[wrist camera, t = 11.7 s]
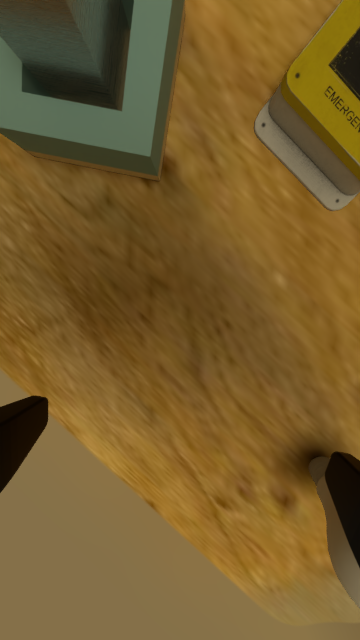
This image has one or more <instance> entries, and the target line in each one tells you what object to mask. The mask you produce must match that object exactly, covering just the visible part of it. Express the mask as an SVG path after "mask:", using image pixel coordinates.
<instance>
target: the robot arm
mask: <svg viewBox="0 0 360 640" xmlns="http://www.w3.org/2000/svg"><path fill="white" fill-rule="evenodd" d="M47 422H48V399H47V398H46V397H41V396H30V397H28V398H25V399H22V400H19V401H16V402H13V403H10V404H7V405H5V406H2V407H0V493H1V491H2V490H3V489H4V488H5V486H6V485H7V484H8V482H9V481H10V480H11V478H12V477H13V475H14V474H15V473H16V471H17V470H18V468H19V466H20V465H21V464H22V462H23V461H24V459H25V458H26V456H27V455H28V453H29V452H30V450H31V449H32V447H33V446H34V444H35V443H36V441H37V439H38V438H39V436H40V435H41V433H42V432H43V430H44V429H45V427H46V425H47ZM325 481H326V484H327V487H328V490H329V492H330V495H331V498H332V500H333V503H334V506H335V509H336V511H337V514H338V517H339V519H340V522H341V525H342V528H343V530H344V533H345V535H346V538H347V541H348V543H349V546H350V548H351V550H352V552H353V555H354V557H355V559H356V561H357V564H358V566H359V568H360V461H359V460H358V459H356V458H355V457H354V456H352V455H350V454H348V453H343V452H338V451H336V452H334V453H332V455H331V458H330V460H329V463H328V465H327V468H326V470H325Z"/></svg>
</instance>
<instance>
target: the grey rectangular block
mask: <svg viewBox="0 0 360 640" xmlns="http://www.w3.org/2000/svg"><path fill="white" fill-rule="evenodd" d="M130 33H131V32H130V28H129V24H128V21H127V17H126V13H125V10H124V6H123V2H122V0H0V37H1V38H2V39H3V40H4V41H5V43H6V44H7V45H8V46H9V47H10V48H11V50H12V51H13V52H14V53H15V54H16V56H17V57H18V58H19V59H20V60H21V62H22V63H23V64H24V65H25V66H26V68H27V69H28V70H29V71H30V72H31V73H32V75H33V76H34V77H35V78H36V79H37V81H38V82H39V83H40V84H41V85H42V87H43V88H44V89H45V90H46V91H47V93H48V94H49V95H50V96H51V97H52V98H56V99H61V100H66V101H72V102H77V103H82V104H87V105H92V106H97V107H102V108H108V109H113V110H118V111H122V107H123V98H124V88H125V79H126V70H127V61H128V52H129V43H130Z"/></svg>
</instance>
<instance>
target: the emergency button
mask: <svg viewBox="0 0 360 640" xmlns="http://www.w3.org/2000/svg"><path fill="white" fill-rule="evenodd" d="M254 131H255V134H256V136H257V138H258V139H259V140H260V141H261V142H262V143H263V144H264V145H265V146H266V147H267V148H268V149H269V150H270V151H271V152H272V153H273V154H274V155H275V156H276V157H277V158H278V159H279V160H280V161H281V162H282V164H283V165H284V166H285V167H286V168H287V169H288V170H289V171H290V172H291V173H292V174H293V175H294V176H295V177H296V178H297V179H298V180H299V181H300V182H301V183H302V184H303V185H304V186H305V187H306V188H307V190H308V191H309V192H310V193H311V194H312V195H313V196H314V197H315V198H316V199H317V200H318V201H319V202H320V203H321V204H322V205H323V206H324V207H325V208H326V209H328V210H330V211H335V210H340V209H341V208H343V207H344V206H346V205H347V204H348V203H349V202H350V201H351V200H352V199H353V198H354V197H355V196H356V195H357V194H358V193H359V192H360V0H342V1H341V3H340V4H339V5H338V7H337V8H336V9H335V10H334V12H333V13H332V14H331V15H330V17H329V18H328V19H327V21H326V22H325V23H324V24H323V26H322V27H321V28H320V29H319V31H318V32H317V33H316V34H315V36H314V37H313V38H312V40H311V41H310V42H309V43H308V45H307V46H306V47H305V48H304V50H303V51H302V52H301V53H300V55H299V56H298V57H297V59H296V60H295V61H294V62H293V64H292V65H291V66H290V68H289V69H288V71H287V72H286V74H285V76H284V78H283V80H282V82H281V84H280V85H279V87H278V89H277V90H276V92H275V93H274V95H273V96H272V97H271V98H270V100H269V101H268V102H267V104H266V105H265V106H264V107H263V109H262V110H261V111H260V113H259V114H258V116H257V118H256V120H255V125H254Z"/></svg>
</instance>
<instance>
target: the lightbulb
mask: <svg viewBox="0 0 360 640" xmlns="http://www.w3.org/2000/svg"><path fill="white" fill-rule="evenodd" d="M329 460H330V458H328V457H323V456H321V457H316V458H314V459H313V460H312V461H311V462H310V464H309V472H310V474H311V477H312V478H313V481H314V482H315V485H316V486H317V493H318V495H319V498H320V500H321V502H322V504H323V507H324V510H325V515H326V521H327V542H328V551H329V555H330V558H331V562H332V565H333V568H334V570H335V572H336V574H337V577H338V579H339V580H340V582H341V584H342V585H343V587H344V588H345V590H346V591H347V593H348V594H349V596H350V597H351V599H352V600H353V601H354V602H355V604H356V605H357V606H358V607H359V608H360V568H359V566H358V564H357V561H356V559H355V557H354V555H353V552H352V550H351V548H350V546H349V543H348V541H347V538H346V535H345V533H344V530H343V528H342V525H341V522H340V519H339V517H338V514H337V511H336V509H335V506H334V503H333V500H332V498H331V495H330V492H329V490H328V487H327V484H326V481H325V470H326V468H327V465H328V463H329Z"/></svg>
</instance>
